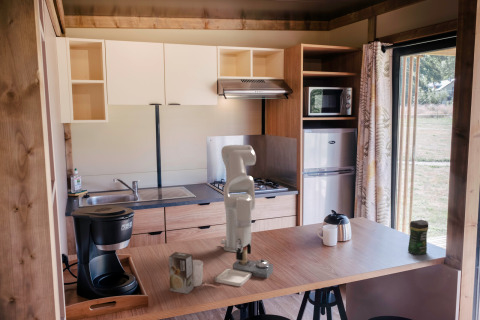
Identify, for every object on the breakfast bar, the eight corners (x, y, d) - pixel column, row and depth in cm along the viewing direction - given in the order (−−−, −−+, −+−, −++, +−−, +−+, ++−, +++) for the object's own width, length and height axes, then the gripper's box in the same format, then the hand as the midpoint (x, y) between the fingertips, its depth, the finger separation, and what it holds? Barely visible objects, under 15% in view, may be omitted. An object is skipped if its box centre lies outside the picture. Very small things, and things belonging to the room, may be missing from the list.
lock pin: (239, 270, 200) (239, 247, 198) (241, 268, 203) (241, 245, 201) (245, 272, 198) (245, 248, 197) (248, 269, 201) (248, 246, 200)
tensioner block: (232, 273, 199) (232, 258, 198) (239, 267, 206) (239, 252, 205) (267, 280, 191) (267, 264, 190) (273, 274, 198) (273, 258, 197)
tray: (215, 283, 188) (215, 278, 187) (227, 273, 199) (227, 268, 199) (240, 288, 182) (240, 283, 182) (252, 277, 194) (252, 272, 194)
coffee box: (194, 288, 183) (193, 254, 181) (187, 294, 177) (186, 259, 175) (176, 285, 186) (175, 251, 184) (169, 291, 180) (168, 256, 178)
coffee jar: (416, 256, 222) (418, 223, 220) (405, 251, 229) (407, 219, 227) (429, 253, 226) (431, 221, 224) (417, 249, 233) (419, 217, 231)
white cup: (186, 280, 191) (186, 260, 190) (203, 279, 192) (203, 259, 191) (185, 287, 184) (185, 266, 182) (203, 286, 184) (203, 265, 183)
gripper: (244, 217, 207) (244, 250, 209) (228, 226, 191) (228, 261, 193) (257, 219, 204) (257, 252, 206) (243, 228, 188) (243, 263, 190)
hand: (243, 256), depth 200 cm, fingers open, 9 cm apart
